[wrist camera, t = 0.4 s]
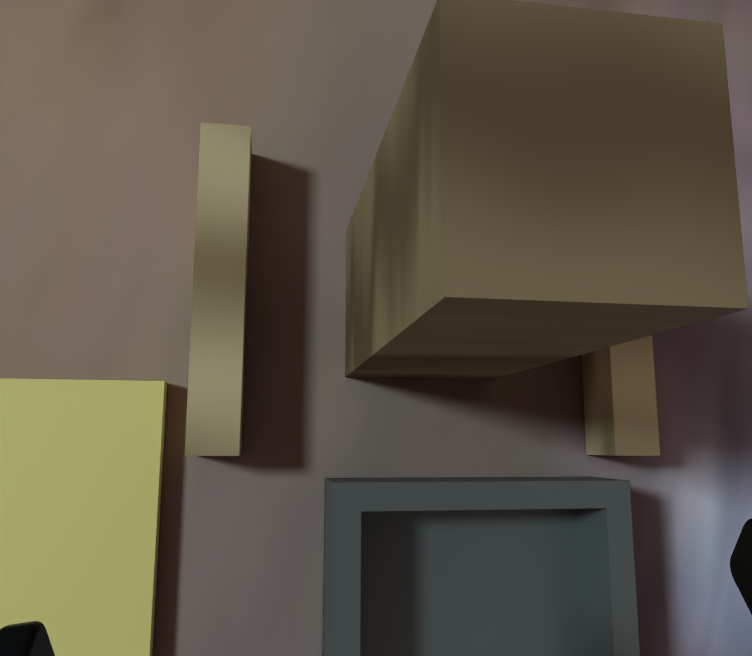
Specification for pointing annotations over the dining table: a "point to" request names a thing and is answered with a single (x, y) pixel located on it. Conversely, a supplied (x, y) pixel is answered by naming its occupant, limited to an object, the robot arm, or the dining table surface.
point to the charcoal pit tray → (479, 567)
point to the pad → (81, 511)
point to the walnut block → (544, 193)
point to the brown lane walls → (228, 326)
